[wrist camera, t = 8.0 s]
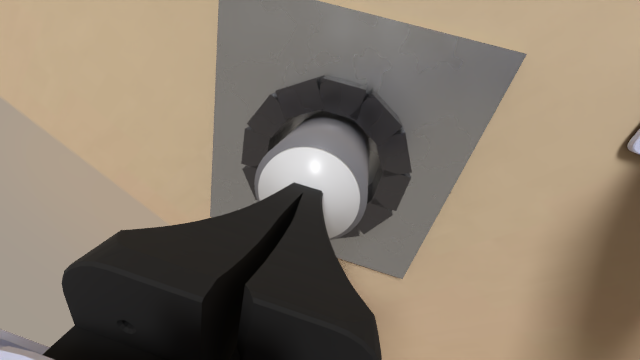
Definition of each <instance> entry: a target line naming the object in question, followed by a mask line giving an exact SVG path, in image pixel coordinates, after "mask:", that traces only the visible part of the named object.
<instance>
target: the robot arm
mask: <svg viewBox="0 0 640 360" xmlns="http://www.w3.org/2000/svg"><path fill="white" fill-rule="evenodd" d="M627 148H628V149H629V150H630V151H631V152H634V153H637V154H640V129H639V130H638V131H637V133H636V134H635V135H634V136H633V137H632V139H631V140H630V141H629V143H628V147H627ZM322 197H323V193H322V191H321V190H318V189H314V188H311V187H308V186H304V185H301V184H298V183H295V182H294V183H292V184H290V185H288V186H286V187H285V188H283V189H281V190H280V191H278V192H276V193H274V194H272V195H270V196H269V197H267V198H265V199H263V200H261V201H259V202H256V203H254V204H252V205H250V206H247V207H245V208H242V209H239V210H236V211H233V212H230V213H227V214H224V215H220V216H216V217H212V218H208V219H204V220H200V221H195V222H190V223H185V224H178V225H172V226H165V227H156V228H145V229H133V230H121V231H120V232H118V233H116V234H115V235H113V236H112V237H110V238H109V239H107V240H106V241H104V242H103V243H102V244H100V245H99V246H97V247H96V248H94V249H93V250H91V251H90V252H88V253H87V254H85V255H84V256H83V257H81V258H79V259H78V260H77V261H75V262H74V263H72V264H71V265H70V266H69V267H68V268H67V269H66V270H65V271H64V275H63V279H62V287H63V292H64V296H65V298H66V301H67V304H68V307H69V310H70V313H71V316H72V318H73V321H74V324H75V326H74V327H73V328H71V329H70V330H69V331H68V332H67V333H66V334H65V335H64V336H63V337H62V338H60V339H59V340H58V341H57V342H56V343H55V344H54V345H52V346H51V347H47V346H44V345H42V344H39V343H37V342H34V341H31V340H29V339H26V338H23V337H21V336H18V335H15V334H13V333H10V332H7V331H5V330H2V329H0V360H381V349H380V342H379V336H378V330H377V325H376V320H375V316H374V314H373V313H372V312H371V310H370V309H369V308H368V307H367V305H366V304H365V303H364V301H363V300H362V299H361V297H360V296H359V295H358V293H357V292H356V291H355V289H354V288H353V286H352V285H351V283H350V281H349V280H348V278H347V276H346V274H345V272H344V271H343V269H342V267H341V265H340V263H339V261H338V259H337V257H336V255H335V252H334V250H333V247H332V245H331V242H330V239H329V236H328V233H327V229H326V225H325V221H324V215H323V207H322Z"/></svg>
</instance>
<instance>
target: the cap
mask: <svg viewBox="0 0 640 360" xmlns="http://www.w3.org/2000/svg"><path fill="white" fill-rule="evenodd" d="M369 155H370V146H369V141H368V138H367V135H366V133H365V131H364V130H363V129H362V128H361V127H360V126H359V125H358V124H357V123H356V122H355V121H354V120H353V119H350V118H347V117H343V116H340V115H336V114H333V113H329V112H326V111H324V112H319V113H316V114H313V115H311V116H310V117H308V118H307V119H305V120H304V121H303V122H302V123H301V124H300V125H298V126H297V127H296V128H295V129H294V130H293V131H292V132H291V133H289V134H288V135H287V136H286V137H285V138H284V139H283V140H281V141H280V142H279V143H278V144H277V145H276V146H275V147H274V148H272V149H271V150H270V151H269V152H268V153H267V154H266V155H265V156H264V157H263V159H262V160H261V162H260V164H259V166H258V168H257V171H256V175H255V182H254V185H255V194H256V198H257V201H258V202H259V201H261V200H263V199H265V198H267V197H269V196H270V195H272V194H274V193H276V192H278V191H280V190H281V189H283V188H285V187H286V186H288V185H290V184H292V183H294V182H295V183H298V184H301V185H304V186H308V187H311V188H314V189H318V190H321V191H322V193H323V197H322V207H323V215H324V221H325V225H326V229H327V233H328V236H329V239H330V240H333V239H336V238H339V237H341V236H343V235H345V234H347V233H348V232H350V231H351V230H352V229H353V228H354V227H355V226H356V225H357V224H358V223H359V221H360V220H361V218H362V217H363V215H364V212H365V209H366V205H367V197H368V176H369Z"/></svg>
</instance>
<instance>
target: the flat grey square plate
mask: <svg viewBox="0 0 640 360" xmlns="http://www.w3.org/2000/svg"><path fill="white" fill-rule="evenodd" d="M525 56H526V54H525V53H521V52H517V51H513V50H509V49H505V48H501V47H497V46H493V45H489V44H485V43H481V42H477V41H474V40H470V39H466V38H462V37H458V36H454V35H450V34H446V33H442V32H438V31H434V30H430V29H426V28H423V27H419V26H415V25H411V24H407V23H403V22H399V21H395V20H391V19H387V18H383V17H379V16H375V15H372V14H368V13H364V12H360V11H356V10H352V9H348V8H344V7H340V6H336V5H332V4H328V3H324V2H321V1H317V0H219V10H218V35H217V60H216V85H215V110H214V135H213V160H212V185H211V210H210V217H216V216H220V215H224V214H227V213H230V212H233V211H236V210H239V209H242V208H245V207H247V206H250V205H252V204H254V203H256V202H258V201H257V198H256V194H255V185H254V182H255V175H256V171H257V168H258V166H259V164H260V162H261V160H262V159H263V157H264V156H265V155H266V154H267V153H268V152H269V151H270V150H271V149H272V148H274V147H275V146H276V145H277V144H278V143H279V142H280V141H281V140H283V139H284V138H285V137H286V136H287V135H288V134H289V133H291V132H292V131H293V130H294V129H295V128H296V127H297V126H298V125H300V124H301V123H302V122H303V121H304V120H305V119H307V118H308V117H310V116H311V115H313V114H316V113H319V112H324V111H326V112H329V113H333V114H336V115H340V116H343V117H347V118H350V119H353V120H354V121H355V122H356V123H357V124H358V125H359V126H360V127H361V128H362V129H363V130H364V131H365V133H366V135H367V138H368V141H369V146H370V155H369V176H368V197H367V205H366V209H365V212H364V215H363V217H362V218H361V220H360V221H359V223H358V224H357V225H356V226H355V227H354V228H353V229H352V230H351V231H350V232H348V233H347V234H345V235H343V236H341V237H339V238H336V239H333V240H330V242H331V245H332V247H333V250H334V252H335V255H336V257H337V258H339V259H342V260H345V261H348V262H351V263H354V264H357V265H361V266H364V267H367V268H370V269H373V270H376V271H379V272H382V273H385V274H388V275H391V276H394V277H398V278H401V279H403V277H404V275H405V273H406V272H407V270H408V268H409V266H410V264H411V262H412V261H413V259H414V257H415V255H416V253H417V252H418V250H419V248H420V246H421V244H422V243H423V241H424V239H425V237H426V235H427V234H428V232H429V230H430V228H431V226H432V224H433V223H434V221H435V219H436V217H437V215H438V214H439V212H440V210H441V208H442V206H443V205H444V203H445V201H446V199H447V197H448V196H449V194H450V192H451V190H452V188H453V187H454V185H455V183H456V181H457V179H458V177H459V176H460V174H461V172H462V170H463V168H464V167H465V165H466V163H467V161H468V159H469V158H470V156H471V154H472V152H473V150H474V149H475V147H476V145H477V143H478V141H479V139H480V138H481V136H482V134H483V132H484V130H485V129H486V127H487V125H488V123H489V121H490V120H491V118H492V116H493V114H494V112H495V111H496V109H497V107H498V105H499V103H500V102H501V100H502V98H503V96H504V94H505V92H506V91H507V89H508V87H509V85H510V83H511V82H512V80H513V78H514V76H515V74H516V73H517V71H518V69H519V67H520V65H521V64H522V62H523V60H524V58H525Z"/></svg>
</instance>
